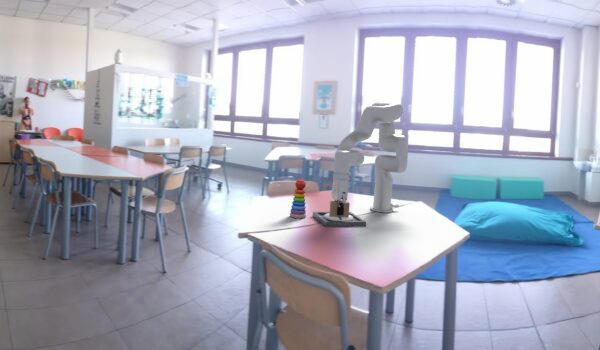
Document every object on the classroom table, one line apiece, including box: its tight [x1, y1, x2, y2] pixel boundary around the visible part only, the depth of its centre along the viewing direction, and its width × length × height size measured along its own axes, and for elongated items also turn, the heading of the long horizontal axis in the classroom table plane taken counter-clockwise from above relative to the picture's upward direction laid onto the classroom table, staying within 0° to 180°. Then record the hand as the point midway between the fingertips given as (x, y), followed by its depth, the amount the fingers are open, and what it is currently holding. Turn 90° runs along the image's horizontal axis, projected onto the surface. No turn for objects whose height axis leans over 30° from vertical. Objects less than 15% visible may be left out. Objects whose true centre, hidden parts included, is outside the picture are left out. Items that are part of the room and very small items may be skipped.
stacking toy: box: [289, 178, 307, 219], centre depth 193 cm, size 8×8×19 cm
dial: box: [324, 200, 353, 221], centre depth 190 cm, size 14×14×8 cm
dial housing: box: [312, 211, 367, 228], centre depth 191 cm, size 20×20×2 cm
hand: (338, 213), depth 190 cm, fingers closed on dial, 3 cm apart
